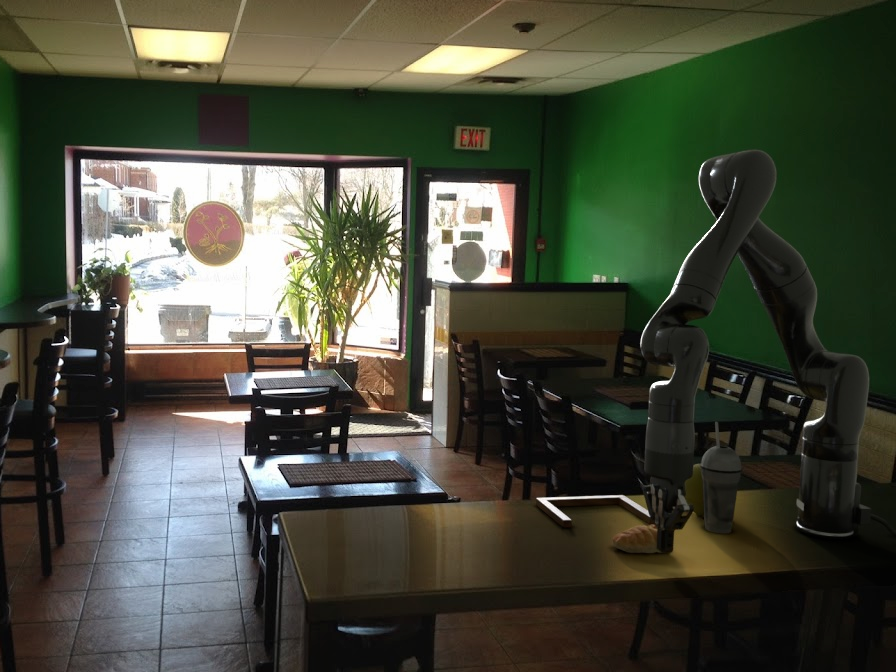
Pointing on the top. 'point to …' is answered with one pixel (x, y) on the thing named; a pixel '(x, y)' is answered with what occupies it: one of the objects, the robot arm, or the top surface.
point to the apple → (695, 490)
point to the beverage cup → (720, 486)
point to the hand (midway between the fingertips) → (664, 551)
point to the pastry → (637, 539)
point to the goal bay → (565, 521)
